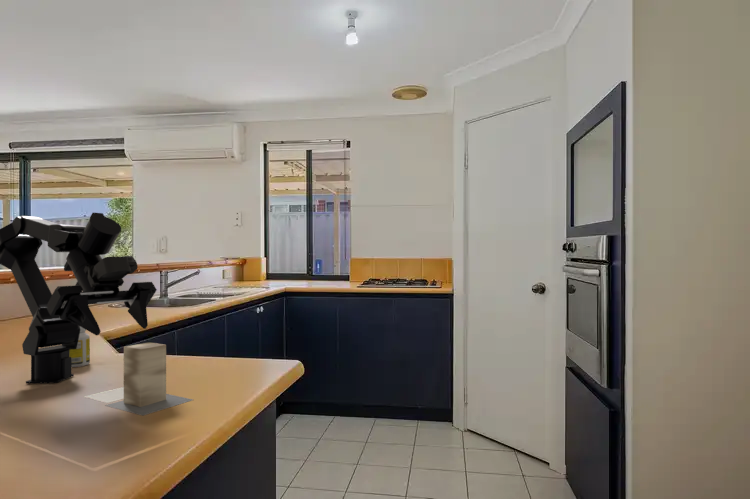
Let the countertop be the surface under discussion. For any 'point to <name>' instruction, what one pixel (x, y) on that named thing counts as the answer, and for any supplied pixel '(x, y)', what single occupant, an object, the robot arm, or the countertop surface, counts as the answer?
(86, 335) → the supplement bottle
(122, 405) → the gray tile
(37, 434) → the countertop surface
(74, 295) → the robot arm
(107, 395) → the pad
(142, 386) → the birch block
